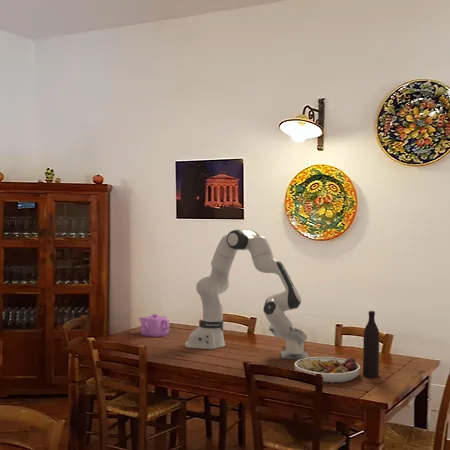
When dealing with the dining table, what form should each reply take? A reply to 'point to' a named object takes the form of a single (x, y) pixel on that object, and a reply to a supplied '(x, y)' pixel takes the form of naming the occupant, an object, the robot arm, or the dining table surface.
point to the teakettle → (154, 326)
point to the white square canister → (294, 347)
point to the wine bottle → (371, 348)
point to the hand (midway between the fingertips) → (295, 342)
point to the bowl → (330, 368)
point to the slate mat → (294, 355)
